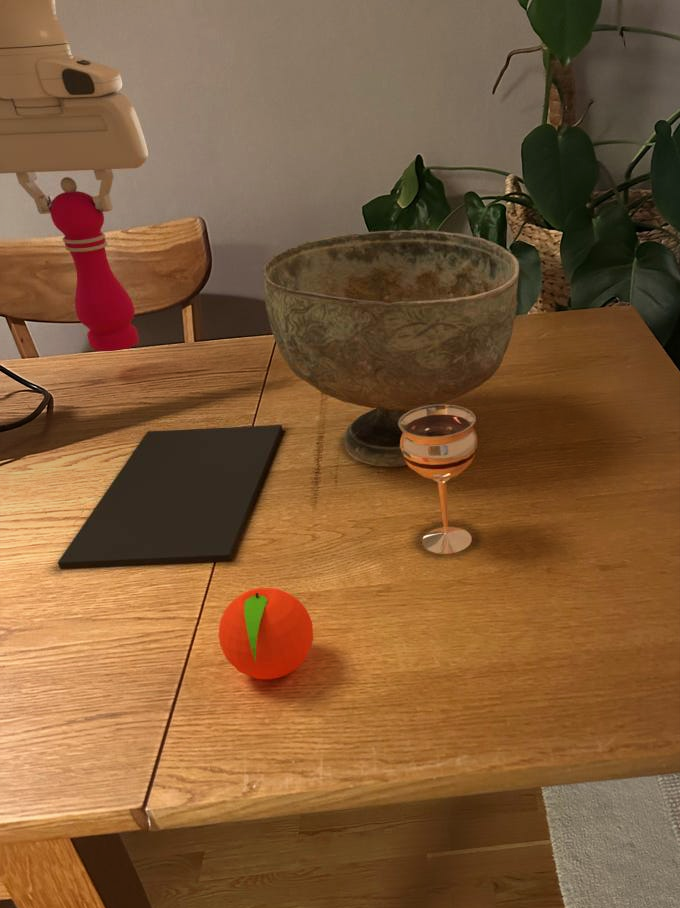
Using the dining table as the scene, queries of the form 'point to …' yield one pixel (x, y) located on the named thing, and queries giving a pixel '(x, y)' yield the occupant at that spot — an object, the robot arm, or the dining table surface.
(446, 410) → the wineglass
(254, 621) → the clementine
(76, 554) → the mat
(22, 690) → the dining table surface
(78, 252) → the pepper mill
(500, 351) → the decorative bowl
